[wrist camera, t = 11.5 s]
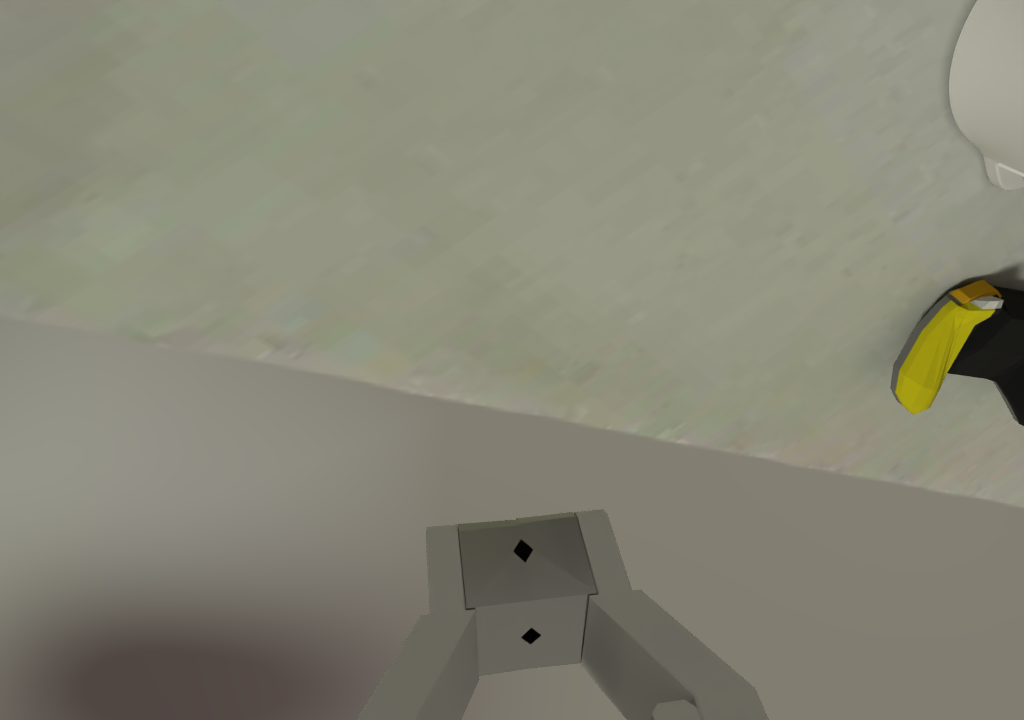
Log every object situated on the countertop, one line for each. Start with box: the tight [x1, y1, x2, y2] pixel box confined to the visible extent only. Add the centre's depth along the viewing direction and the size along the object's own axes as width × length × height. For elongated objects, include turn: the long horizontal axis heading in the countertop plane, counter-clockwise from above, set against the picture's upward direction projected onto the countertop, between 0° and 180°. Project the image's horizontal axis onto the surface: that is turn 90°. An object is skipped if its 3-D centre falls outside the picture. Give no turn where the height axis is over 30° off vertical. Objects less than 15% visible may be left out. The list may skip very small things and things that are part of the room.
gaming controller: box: [891, 280, 1024, 426], centre depth 54 cm, size 15×6×10 cm
